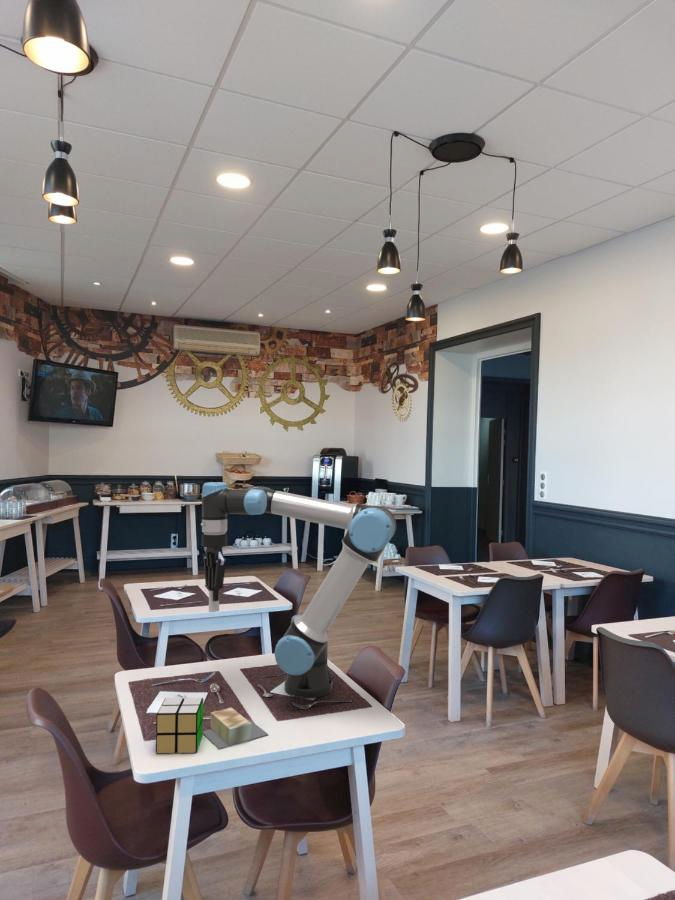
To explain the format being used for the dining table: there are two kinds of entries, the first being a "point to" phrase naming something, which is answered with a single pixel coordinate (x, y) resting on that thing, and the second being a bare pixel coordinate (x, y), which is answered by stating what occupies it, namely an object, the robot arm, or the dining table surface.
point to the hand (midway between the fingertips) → (213, 611)
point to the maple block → (231, 726)
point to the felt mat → (221, 743)
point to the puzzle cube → (179, 725)
